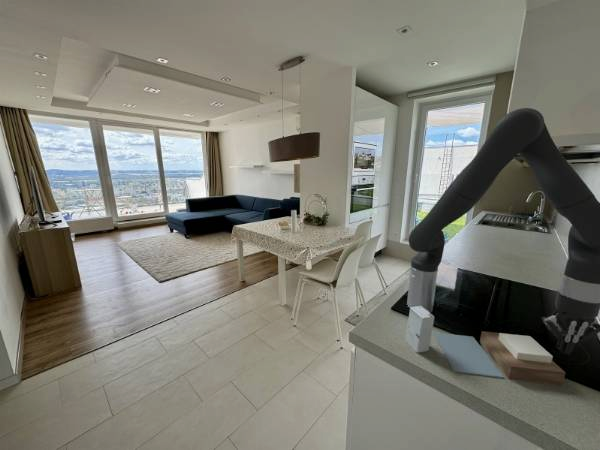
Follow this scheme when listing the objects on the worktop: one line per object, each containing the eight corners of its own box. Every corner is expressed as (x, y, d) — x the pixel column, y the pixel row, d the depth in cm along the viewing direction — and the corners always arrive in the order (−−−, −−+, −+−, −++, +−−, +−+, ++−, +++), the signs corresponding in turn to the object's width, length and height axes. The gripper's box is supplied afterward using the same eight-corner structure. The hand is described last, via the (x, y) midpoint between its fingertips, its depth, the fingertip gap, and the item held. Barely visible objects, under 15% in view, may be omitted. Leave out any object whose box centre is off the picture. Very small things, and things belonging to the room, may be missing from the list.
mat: (433, 333, 81) (433, 332, 81) (473, 337, 79) (473, 336, 79) (454, 371, 65) (454, 370, 65) (504, 378, 63) (504, 377, 63)
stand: (479, 342, 77) (481, 331, 76) (522, 346, 74) (525, 335, 73) (508, 378, 63) (511, 366, 62) (561, 385, 61) (565, 372, 60)
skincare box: (404, 340, 78) (408, 306, 75) (417, 338, 79) (420, 305, 76) (417, 353, 72) (421, 318, 69) (430, 351, 73) (435, 316, 70)
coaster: (498, 338, 72) (499, 333, 72) (528, 342, 71) (530, 336, 70) (516, 358, 65) (517, 352, 64) (551, 362, 63) (552, 356, 63)
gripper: (595, 289, 64) (579, 344, 68) (538, 285, 67) (526, 339, 71) (627, 304, 57) (607, 365, 61) (562, 299, 60) (546, 358, 63)
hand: (563, 351), depth 66 cm, fingers closed
